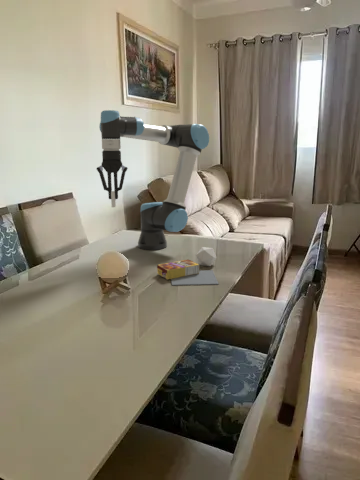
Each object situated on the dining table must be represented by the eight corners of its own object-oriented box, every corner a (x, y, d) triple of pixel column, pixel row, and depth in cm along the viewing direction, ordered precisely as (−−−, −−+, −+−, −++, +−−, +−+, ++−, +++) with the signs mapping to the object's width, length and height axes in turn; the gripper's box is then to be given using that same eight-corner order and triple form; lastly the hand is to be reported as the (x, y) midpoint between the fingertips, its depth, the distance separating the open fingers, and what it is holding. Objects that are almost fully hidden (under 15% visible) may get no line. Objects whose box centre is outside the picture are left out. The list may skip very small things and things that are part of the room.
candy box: (156, 263, 159) (188, 258, 167) (156, 273, 160) (188, 268, 168) (167, 269, 152) (199, 264, 159) (167, 279, 153) (199, 274, 160)
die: (218, 264, 175) (210, 245, 178) (219, 260, 167) (210, 240, 170) (202, 271, 175) (194, 252, 178) (201, 267, 167) (193, 247, 169)
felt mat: (170, 271, 163) (170, 271, 163) (212, 271, 165) (212, 270, 164) (171, 285, 148) (171, 284, 148) (218, 284, 149) (218, 283, 149)
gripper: (94, 150, 155) (97, 208, 161) (126, 150, 156) (128, 208, 162) (96, 149, 162) (99, 205, 168) (127, 149, 163) (129, 205, 169)
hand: (113, 206), depth 165 cm, fingers closed
